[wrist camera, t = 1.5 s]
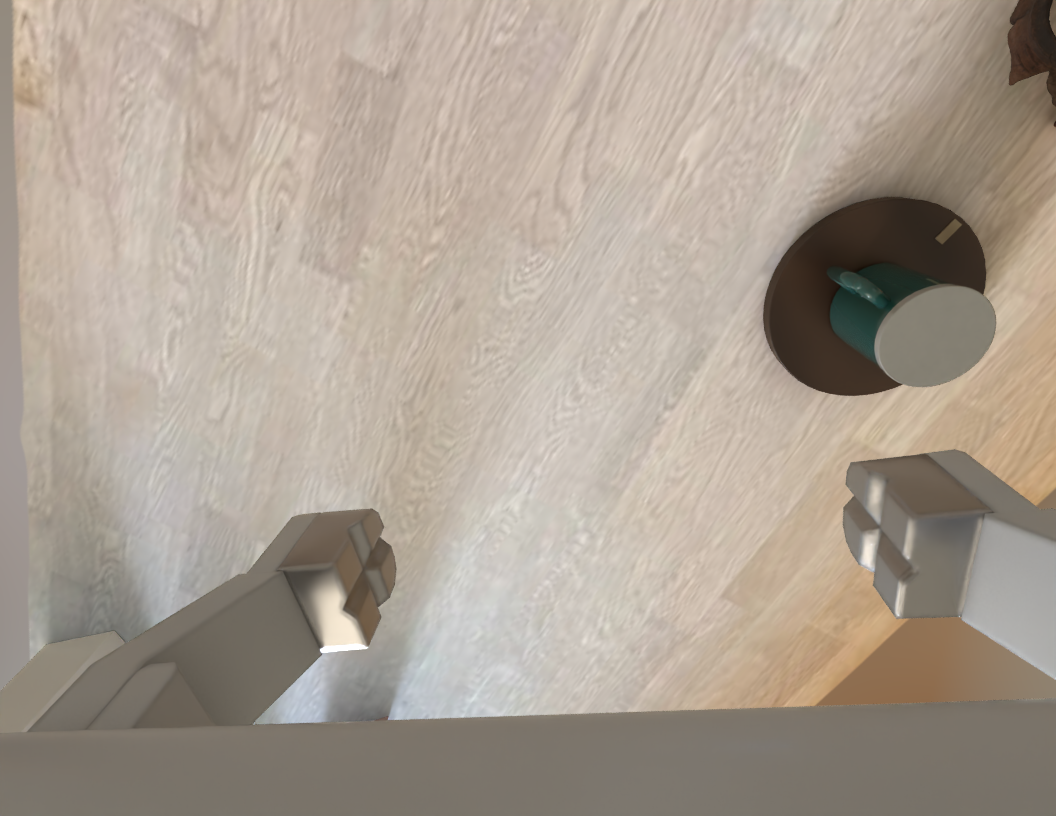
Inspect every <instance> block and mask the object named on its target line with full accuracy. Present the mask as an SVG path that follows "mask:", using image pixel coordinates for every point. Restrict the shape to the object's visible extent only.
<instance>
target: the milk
mask: <svg viewBox="0 0 1056 816" xmlns="http://www.w3.org/2000/svg"><path fill="white" fill-rule="evenodd" d="M124 644H125V642H124V641H123V640H122V639H121V637H120V636H119V635H118V634H117V633H116V632H115V631H110V632H105V633H100V634H95V635H90V636H85V637H80V638H76V639H71V640H66V641H61V642H56V643H51V644H46V645H45V646H44V647H43V648H42V649H41V650H40V651H39V652H38V653H37V654H36V655H35V656H34V657H33V658H32V659H31V660H30V661H29V662H28V663H27V664H26V666H25V667H24V668H23V669H22V670H21V671H20V672H19V673H18V674H17V675H16V676H15V677H14V678H13V679H12V680H11V681H10V682H9V683H8V684H7V685H6V686H5V687H4V688H3V689H2V690H1V691H0V733H14V732H27V731H28V730H29V729H30V728H31V727H32V725H33V724H34V723H35V722H36V721H37V720H38V719H39V718H40V717H41V716H42V715H43V714H44V713H45V712H46V711H47V710H48V709H49V708H50V707H51V706H52V705H53V704H54V703H55V702H56V700H57V699H58V698H59V697H60V696H61V695H62V694H63V693H64V692H65V691H66V690H67V689H68V688H69V687H70V686H71V685H72V684H73V683H74V682H75V681H76V680H77V679H78V678H79V677H80V675H81V674H82V673H83V672H84V671H85V670H86V669H87V668H88V667H89V666H90V665H91V664H93V663H94V662H96V661H98V660H99V659H101V658H102V657H104V656H106V655H107V654H109V653H111V652H112V651H114V650H116V649H117V648H119V647H120V646H122V645H124Z"/></svg>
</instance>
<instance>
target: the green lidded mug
mask: <svg viewBox="0 0 1056 816" xmlns="http://www.w3.org/2000/svg"><path fill="white" fill-rule="evenodd" d="M827 274H828V276H829V277H830V278H831V279H833V280H834V281H835V282H836V283H838V284H839V285H840V286H841V287H840V288H839V290H838V291H837V293H836V294H835V296H834V298H833V301H832V304H831V308H830V322H831V326H832V328H833V330H834V332H835V334H836V335H837V336H838V337H839V338H840V339H841V340H842V341H844V342H845V343H846V344H848V345H849V346H851V347H852V348H853V349H855V350H856V351H857V352H859V353H860V354H862V355H863V356H864V357H866V358H867V359H868V360H870V361H871V362H873V363H874V364H875V365H877V366H878V367H879V368H881V369H882V371H883V372H884V373H885V374H887V375H888V376H889V377H890V378H892V379H893V380H895V381H896V382H898V383H901V384H903V385H907V386H912V387H931V386H936V385H940V384H943V383H946V382H949V381H951V380H953V379H955V378H957V377H959V376H961V375H962V374H964V373H966V372H967V371H968V370H970V369H971V368H972V367H973V366H974V365H975V364H976V363H978V362H979V360H980V359H981V358H982V357H983V356H984V354H985V353H986V351H987V350H988V348H989V346H990V345H991V343H992V340H993V338H994V334H995V330H996V315H995V311H994V309H993V307H992V304H991V303H990V302H989V300H988V299H987V298H986V297H985V296H984V295H983V294H981V293H980V292H978V291H976V290H974V289H972V288H969V287H966V286H963V285H958V284H952V283H950V282H947V281H944V280H941V279H939V278H936V277H933V276H930V275H927V274H925V273H922V272H919V271H916V270H914V269H911V268H908V267H905V266H902V265H899V264H894V263H881V264H876V265H872V266H869V267H866V268H864V269H862V270H860V271H858V272H857V273H854V272H851V271H849V270H847V269H845V268H842V267H840V266H838V265H833V266H831V267H830V268H829V269H828V271H827Z"/></svg>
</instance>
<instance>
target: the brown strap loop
mask: <svg viewBox="0 0 1056 816" xmlns="http://www.w3.org/2000/svg"><path fill="white" fill-rule="evenodd" d="M1052 1H1053V0H1019V2H1018V4H1017V6H1016V8H1015V10H1014V12H1013V13H1012V16H1011V18H1010V23H1011V24H1012V25H1014V26H1013V27H1012V28H1011V29H1010V31H1009V33H1008V45H1009V48H1010V53H1011V72H1010V75H1009V85H1010V86H1011V85H1014V84H1015V83H1016V82H1018V81H1021V80H1023V79H1026V78H1029V77H1031V76H1034V75H1037V74H1039V73H1042V72H1047V71H1049V77H1048V79H1047V82H1046V83H1047V89H1048V91H1049V93H1050V94H1051V95H1052V103H1053V105H1055V106H1056V36H1055V35H1054V33H1053V31H1052V29H1051V26H1050V21H1049V16H1050V8H1051V5H1052ZM1054 126H1055V127H1056V122H1055V123H1054Z"/></svg>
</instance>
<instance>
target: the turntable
mask: <svg viewBox="0 0 1056 816" xmlns="http://www.w3.org/2000/svg"><path fill="white" fill-rule="evenodd" d="M881 263H894V264H899V265H902V266H905V267H908V268H911V269H914V270H916V271H919V272H922V273H925V274H927V275H930V276H933V277H936V278H939V279H941V280H944V281H947V282H950V283H952V284H958V285H963V286H966V287H969V288H972V289H974V290H976V291H978V292H980V293H981V294H984V289H985V281H986V266H985V258H984V254H983V250H982V247H981V245H980V243H979V241H978V238H977V236H976V235H975V233H974V232H973V231H972V229H971V228H970V226H969V225H968V224H967V223H966V222H965V221H964V220H963V219H962V218H961V217H959V216H958V215H956V214H955V213H954V212H952V211H951V210H949V209H947V208H945V207H942V206H940V205H938V204H935V203H931V202H928V201H924V200H917V199H910V198H902V197H884V198H877V199H870V200H866V201H862V202H858V203H855V204H852V205H850V206H847V207H845V208H842V209H840V210H838V211H836V212H834V213H832V214H830V215H829V216H827V217H825V218H824V219H822V220H821V221H819V222H818V223H816V224H815V225H814V226H812V227H811V228H810V229H809V230H808V231H806V232H805V233H804V234H803V235H802V236H801V237H800V238H799V239H798V240H797V241H796V242H795V243H794V244H793V245H792V246H791V248H790V249H789V250H788V251H787V253H786V254H785V255H784V257H783V258H782V260H781V261H780V263H779V265H778V266H777V268H776V270H775V272H774V274H773V276H772V278H771V281H770V283H769V286H768V290H767V293H766V297H765V303H764V314H763V320H764V330H765V334H766V338H767V341H768V343H769V346H770V348H771V350H772V352H773V353H774V355H775V357H776V358H777V360H778V361H779V362H780V363H781V364H782V365H783V366H784V368H785V369H786V370H787V371H788V372H789V373H790V374H791V375H792V376H794V377H795V378H796V379H797V380H799V381H800V382H802V383H804V384H805V385H807V386H809V387H811V388H813V389H816V390H818V391H822V392H825V393H829V394H835V395H844V396H858V395H868V394H874V393H879V392H883V391H886V390H889V389H893V388H895V387H898V386H900V385H903V384H901V383H898V382H896V381H895V380H893V379H892V378H890V377H889V376H888V375H887V374H885V373H884V372H883V371H882V369H881V368H879V367H878V366H877V365H875V364H874V363H873V362H871V361H870V360H868V359H867V358H866V357H864V356H863V355H862V354H860V353H859V352H857V351H856V350H855V349H853V348H852V347H851V346H849V345H848V344H846V343H845V342H844V341H842V340H841V339H840V338H839V337H838V336H837V335H836V334H835V332H834V330H833V328H832V326H831V322H830V308H831V304H832V301H833V298H834V296H835V294H836V293H837V291H838V290H839V288H840V287H841V286H840V285H839V284H838V283H836V282H835V281H834V280H833V279H831V278H830V277H829V276H828V274H827V271H828V269H829V268H830V267H831V266H833V265H838V266H840V267H842V268H845V269H847V270H849V271H851V272H854V273H857V272H858V271H860V270H862V269H864V268H866V267H869V266H872V265H876V264H881Z"/></svg>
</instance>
